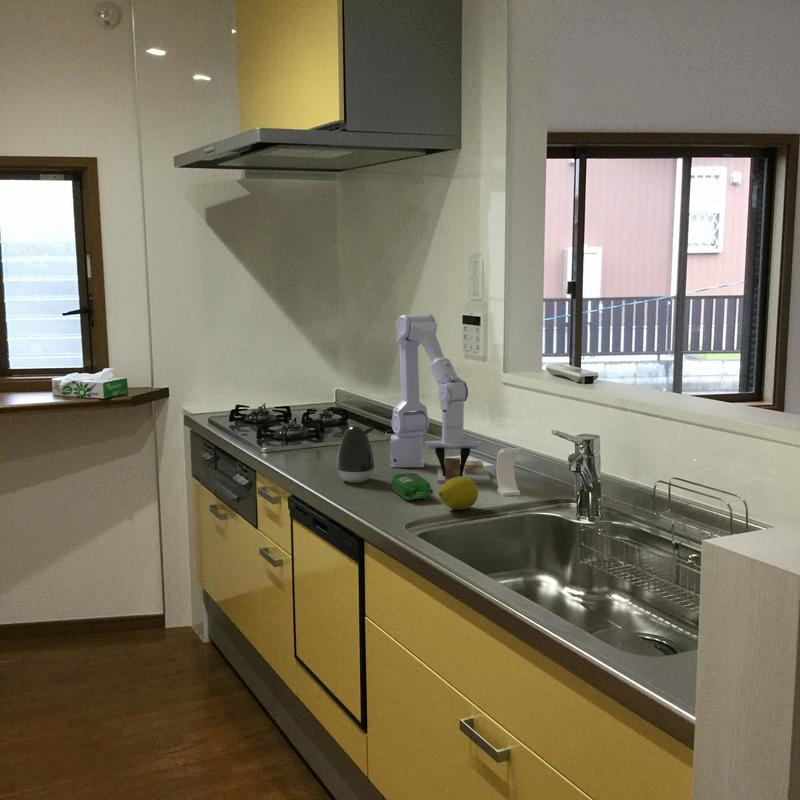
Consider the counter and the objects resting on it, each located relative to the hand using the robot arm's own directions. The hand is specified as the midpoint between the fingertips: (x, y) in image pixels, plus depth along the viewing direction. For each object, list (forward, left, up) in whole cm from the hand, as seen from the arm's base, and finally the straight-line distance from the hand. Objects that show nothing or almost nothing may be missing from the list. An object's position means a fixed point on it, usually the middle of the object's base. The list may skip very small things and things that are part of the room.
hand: (452, 475), depth 256 cm
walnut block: (0, 0, -1) cm, 1 cm away
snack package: (-11, -17, -2) cm, 20 cm away
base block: (+6, +7, 0) cm, 9 cm away
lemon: (+1, -30, -2) cm, 30 cm away
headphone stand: (+14, -13, -2) cm, 19 cm away
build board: (+3, +4, -1) cm, 5 cm away
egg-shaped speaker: (-26, -1, -2) cm, 26 cm away
